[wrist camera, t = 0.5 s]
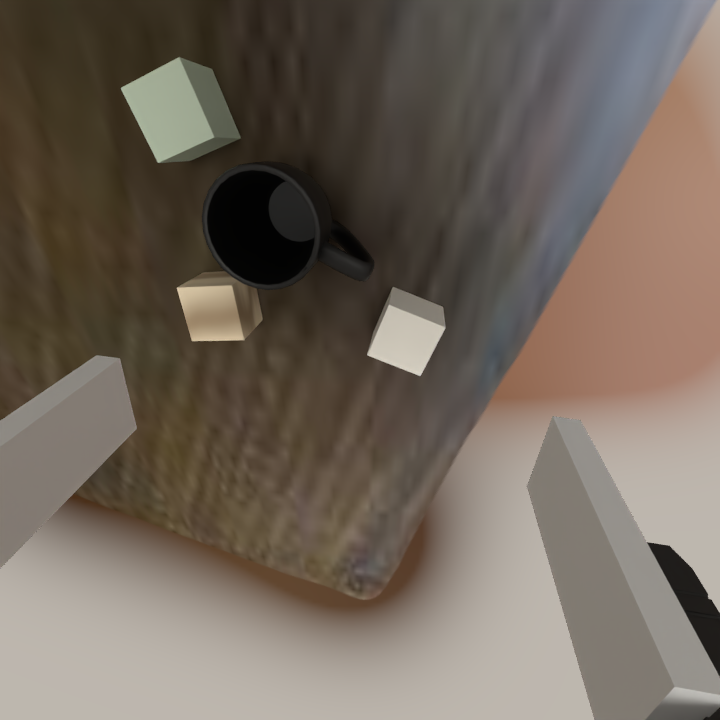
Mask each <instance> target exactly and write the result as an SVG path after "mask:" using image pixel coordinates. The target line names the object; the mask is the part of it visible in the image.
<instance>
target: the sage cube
mask: <svg viewBox="0 0 720 720" xmlns="http://www.w3.org/2000/svg"><path fill="white" fill-rule="evenodd" d="M121 90H122V92H123V94H124V96H125V98H126V100H127V102H128V104H129V106H130V108H131V110H132V112H133V114H134V116H135V118H136V120H137V122H138V124H139V126H140V128H141V130H142V132H143V134H144V136H145V138H146V140H147V142H148V144H149V146H150V148H151V150H152V152H153V154H154V156H155V158H156V160H157V162H158V163H165V162H181V161H191V160H194V159H196V158H198V157H200V156H203V155H205V154H207V153H209V152H211V151H214V150H216V149H218V148H220V147H223V146H225V145H227V144H229V143H232V142H234V141H236V140H238V139H241V137H240V135H239V132H238V130H237V127H236V125H235V123H234V120H233V118H232V116H231V113H230V111H229V108H228V106H227V104H226V101H225V99H224V96H223V94H222V92H221V89H220V87H219V84H218V82H217V80H216V77H215V75H214V72H213V70H212V69H210V68H208V67H205V66H202V65H199V64H197V63H194V62H191V61H188V60H186V59H183V58H180V57H179V58H177V59H175V60H173V61H171V62H169V63H167V64H165V65H163V66H162V67H160V68H158V69H156V70H154V71H152V72H150V73H148V74H147V75H145V76H143V77H141V78H139V79H137V80H135V81H133V82H131V83H130V84H128V85H126V86H124V87H122V88H121Z"/></svg>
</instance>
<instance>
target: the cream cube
mask: <svg viewBox="0 0 720 720" xmlns="http://www.w3.org/2000/svg"><path fill="white" fill-rule="evenodd" d="M445 328H446V326H445V318H444V310H443V307H442V306H440V305H437V304H435V303H432V302H430V301H427V300H425V299H422V298H420V297H417V296H415V295H412V294H410V293H408V292H405V291H403V290H400V289H398V288H395V287H392V290H391V292H390V294H389V297H388V299H387V301H386V304H385V306H384V308H383V311H382V313H381V315H380V318H379V320H378V322H377V325H376V327H375V329H374V332H373V335H372V339H371V343H370V346H369V350H368V354H367V355H368V356H371V357H373V358H376V359H378V360H381V361H383V362H386V363H388V364H391V365H393V366H396V367H398V368H401V369H403V370H406V371H408V372H411V373H414V374H416V375H419V376H421V374H422V372H423V370H424V368H425V366H426V364H427V362H428V361H429V359H430V357H431V355H432V353H433V351H434V349H435V347H436V345H437V343H438V341H439V339H440V338H441V336H442V334H443V332H444V330H445Z"/></svg>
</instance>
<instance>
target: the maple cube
mask: <svg viewBox="0 0 720 720" xmlns="http://www.w3.org/2000/svg"><path fill="white" fill-rule="evenodd" d="M177 290H178V294H179V297H180V301H181V304H182V308H183V311H184V315H185V318H186V322H187V325H188V329H189V332H190V336H191V339H192V341H221V340H245V339H246V337H247V336H248V335H249V334H250V333H251V332H252V331H253V330H254V329H255V328H256V327H257V326H258V324H259V323H260V322H261V321H262V320H263V318H262V313H261V308H260V303H259V298H258V293H257V288H254V287H251V286H248V285H245V284H243V283H241V282H239V281H238V280H236V279H234V278H233V277H231V276H230V275H229V274H228V273H227V272H226V271H221V272H203V273H201V274H200V275H198V276H196V277H195V278H193V279H191V280H189V281H188V282H186V283H184V284H182V285H181V286H179V287H177Z"/></svg>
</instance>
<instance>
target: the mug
mask: <svg viewBox="0 0 720 720" xmlns="http://www.w3.org/2000/svg"><path fill="white" fill-rule="evenodd" d="M202 223H203V232H204V235H205V239H206V242H207V245H208V247H209V249H210V251H211V253H212V255H213V257H214V258H215V260H216V261H217V262H218V264H219V265H220V266H221V267H222V268H223V269H224V270H225V271H226V272H227V273H228V274H229V275H230V276H231V277H233V278H234V279H236V280H238V281H239V282H241V283H243V284H245V285H248V286H251V287H254V288H258V289H265V290H273V289H282V288H285V287H287V286H290V285H293V284H294V283H296V282H298V281H299V280H301V279H302V278H303V277H304V276H305V275H306V274H307V273H308V272H309V271H310V270H311V269H312V267H313V266H314V265H315V264H316V263H317V262H318V261H321V262H323V263H324V264H326V265H328V266H329V267H331V268H333V269H335V270H337V271H339V272H341V273H342V274H344V275H346V276H349V277H351V278H353V279H355V280H358V281H366V280H368V279H369V277H370V275H371V273H372V271H373V268H374V260H373V258H372V257H371V256H370V254H369V253H368V252H367V250H366V249H365V248H364V247H363V246H362V245H361V243H360V242H359V241H358V240H357V239H356V238H355V237H354V236H353V235H352V234H351V233H350V232H349V231H348V230H347V229H346V228H345V227H344V226H342V225H341V224H339V223H338V222H336V221H334V220H332V217H331V211H330V205H329V203H328V200H327V197H326V195H325V194H324V192H323V190H322V189H321V187H320V186H319V185H318V184H317V183H316V182H315V181H314V180H313V179H312V178H311V177H310V176H309V175H307V174H306V173H304V172H303V171H301V170H299V169H298V168H295V167H292V166H289V165H287V164H283V163H277V162H256V163H248V164H242V165H238V166H236V167H233V168H231V169H229V170H227V171H226V172H224V173H223V174H222V175H221V176H220V177H218V178H217V179H216V181H215V182H214V183H213V185H212V186H211V188H210V189H209V191H208V194H207V196H206V199H205V201H204V206H203V213H202ZM329 238H331V239H333V240H334V241H336V242H337V243H338V244H339V245H340V246H341V247H342V248H343V249H344V250H345V251H346V252H347V253H346V252H344V251H342V250H340V249H339V248H337V247H335V246H333V245H332V244H330V243H328V241H329Z"/></svg>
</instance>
